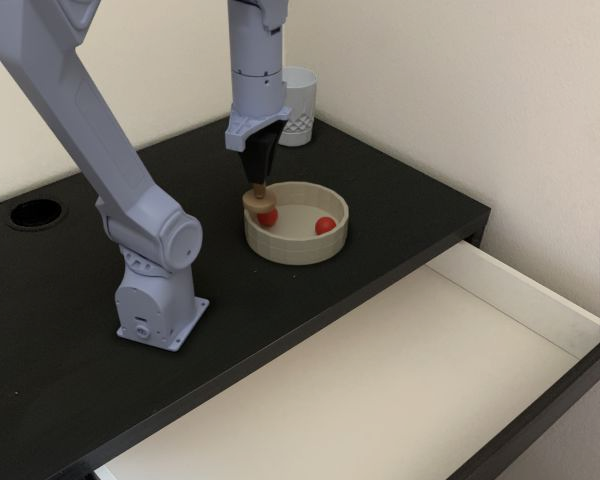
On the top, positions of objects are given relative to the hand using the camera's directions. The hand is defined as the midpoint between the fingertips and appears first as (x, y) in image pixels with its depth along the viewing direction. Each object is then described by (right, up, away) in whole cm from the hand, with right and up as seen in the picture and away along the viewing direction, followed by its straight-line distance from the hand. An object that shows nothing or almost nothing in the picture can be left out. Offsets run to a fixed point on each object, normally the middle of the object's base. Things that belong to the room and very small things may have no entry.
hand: (259, 177), depth 83 cm
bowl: (+5, -5, +10) cm, 12 cm away
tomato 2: (+9, -4, +8) cm, 12 cm away
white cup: (+4, +16, +28) cm, 33 cm away
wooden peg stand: (0, -2, +3) cm, 4 cm away
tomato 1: (+1, -2, +9) cm, 10 cm away
